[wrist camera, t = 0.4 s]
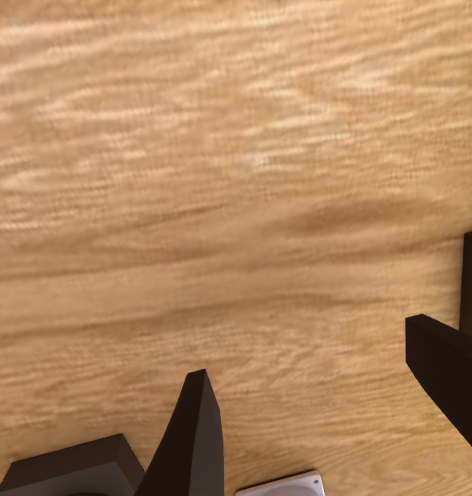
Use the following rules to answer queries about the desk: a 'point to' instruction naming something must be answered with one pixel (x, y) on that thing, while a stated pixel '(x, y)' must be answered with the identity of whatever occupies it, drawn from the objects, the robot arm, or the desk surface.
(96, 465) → the button block
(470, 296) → the panel
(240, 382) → the desk surface
